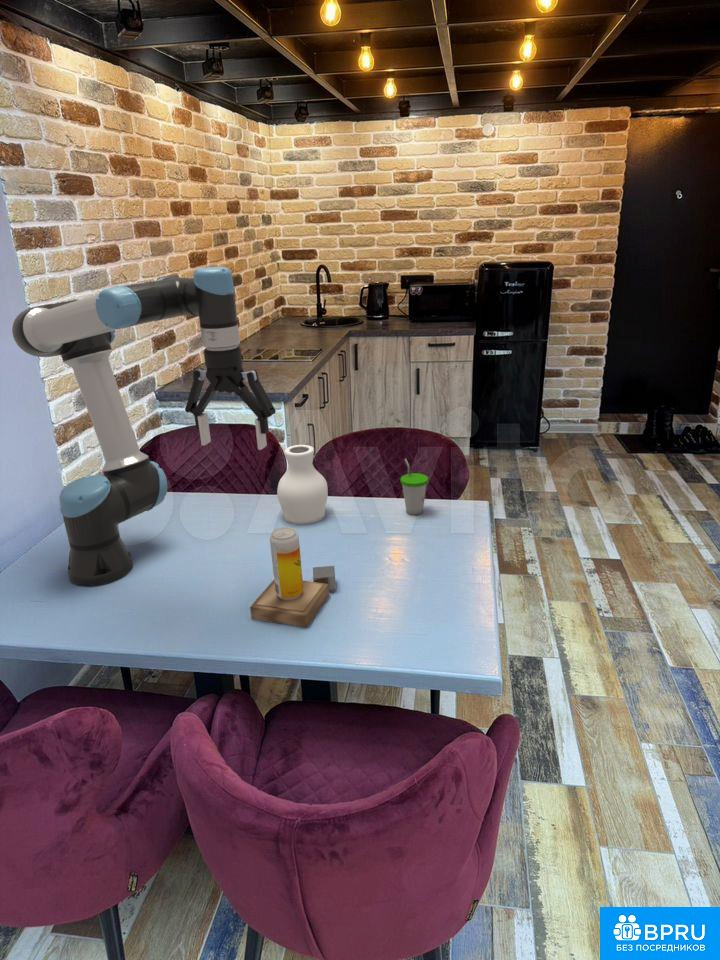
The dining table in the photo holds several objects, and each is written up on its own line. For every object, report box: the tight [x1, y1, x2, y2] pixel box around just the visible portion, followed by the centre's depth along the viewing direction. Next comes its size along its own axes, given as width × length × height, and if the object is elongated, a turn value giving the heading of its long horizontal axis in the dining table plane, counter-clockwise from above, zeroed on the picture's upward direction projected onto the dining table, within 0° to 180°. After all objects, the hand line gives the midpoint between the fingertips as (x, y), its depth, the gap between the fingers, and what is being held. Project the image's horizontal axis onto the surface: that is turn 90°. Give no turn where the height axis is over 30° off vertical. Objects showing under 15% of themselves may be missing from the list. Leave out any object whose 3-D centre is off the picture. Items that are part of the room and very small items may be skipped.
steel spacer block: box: [312, 565, 337, 593], centre depth 158 cm, size 5×5×4 cm
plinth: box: [249, 579, 330, 629], centre depth 150 cm, size 13×13×3 cm
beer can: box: [269, 526, 304, 600], centre depth 147 cm, size 6×6×15 cm
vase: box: [276, 444, 329, 525], centre depth 191 cm, size 14×14×20 cm
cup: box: [399, 458, 429, 516], centre depth 191 cm, size 8×8×15 cm
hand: (234, 445), depth 147 cm, fingers open, 13 cm apart
